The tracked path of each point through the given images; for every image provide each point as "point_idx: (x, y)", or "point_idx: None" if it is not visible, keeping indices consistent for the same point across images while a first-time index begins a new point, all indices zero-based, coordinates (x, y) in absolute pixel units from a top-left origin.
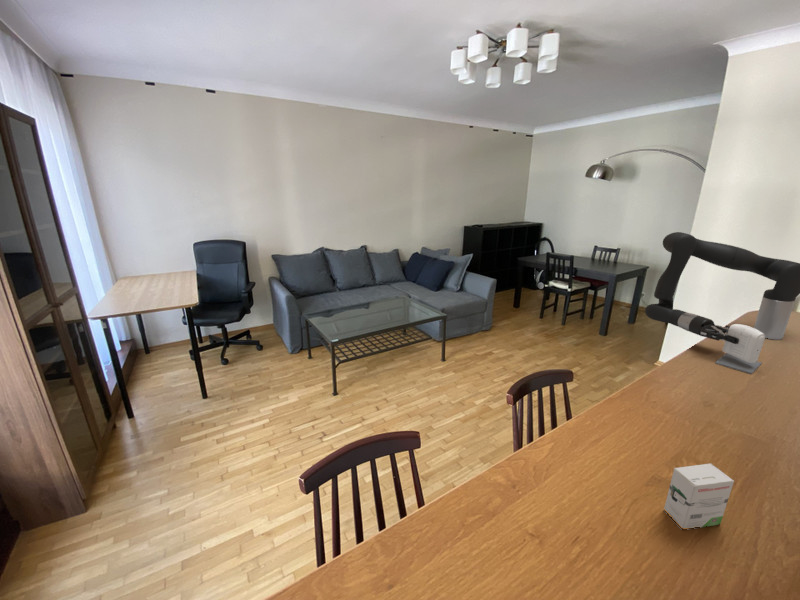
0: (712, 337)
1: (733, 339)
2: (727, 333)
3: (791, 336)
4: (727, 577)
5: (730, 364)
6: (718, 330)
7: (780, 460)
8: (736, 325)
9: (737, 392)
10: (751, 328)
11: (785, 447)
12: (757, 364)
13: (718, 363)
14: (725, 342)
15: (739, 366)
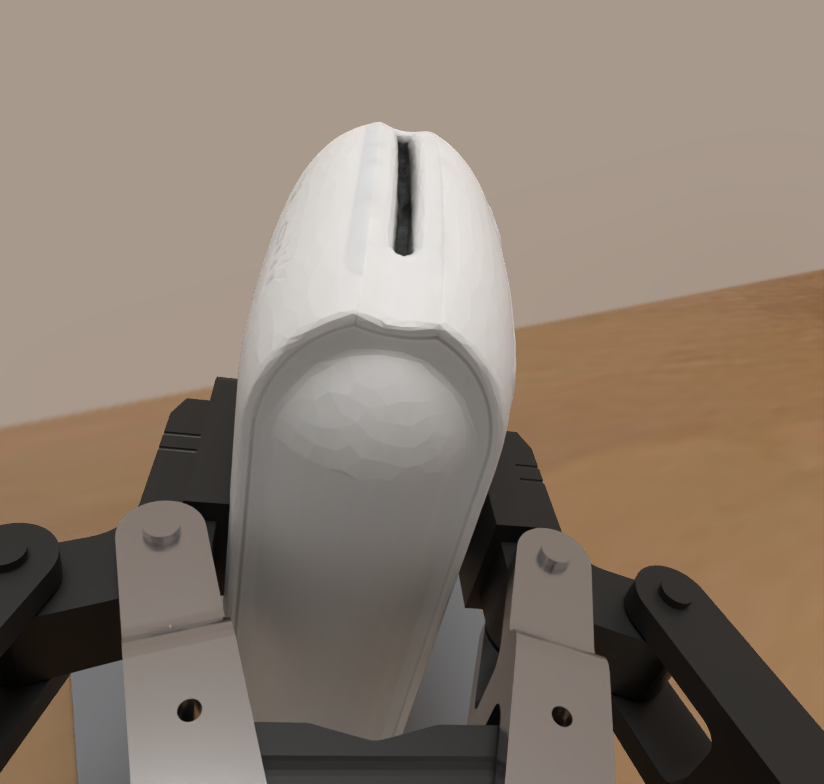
0: (688, 755)
1: (527, 444)
2: (464, 550)
3: None
4: None
5: (440, 648)
6: (597, 678)
7: (811, 286)
8: (484, 259)
9: (708, 438)
10: (432, 136)
11: (763, 291)
12: None
13: None
14: (420, 673)
15: None
